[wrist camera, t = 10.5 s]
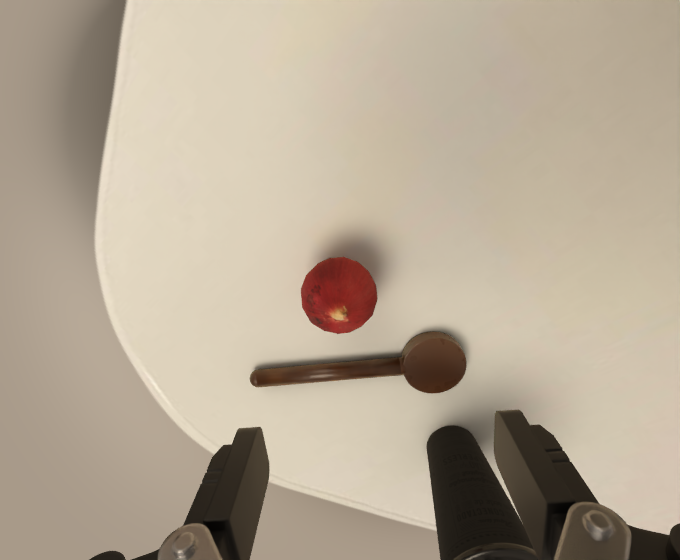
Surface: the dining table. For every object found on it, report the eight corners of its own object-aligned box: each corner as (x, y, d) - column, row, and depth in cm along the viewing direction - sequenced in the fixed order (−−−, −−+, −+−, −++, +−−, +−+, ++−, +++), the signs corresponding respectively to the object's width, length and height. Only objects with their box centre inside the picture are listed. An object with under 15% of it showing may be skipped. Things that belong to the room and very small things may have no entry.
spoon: (246, 347, 37) (242, 356, 35) (462, 328, 36) (467, 336, 34) (257, 399, 39) (253, 409, 37) (462, 382, 37) (467, 392, 36)
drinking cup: (458, 399, 38) (565, 654, 19) (505, 448, 40) (645, 726, 21) (396, 441, 40) (438, 713, 21) (443, 487, 42) (520, 775, 23)
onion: (326, 320, 36) (319, 369, 28) (294, 265, 34) (277, 301, 26) (385, 292, 35) (394, 335, 27) (354, 234, 33) (356, 262, 25)
